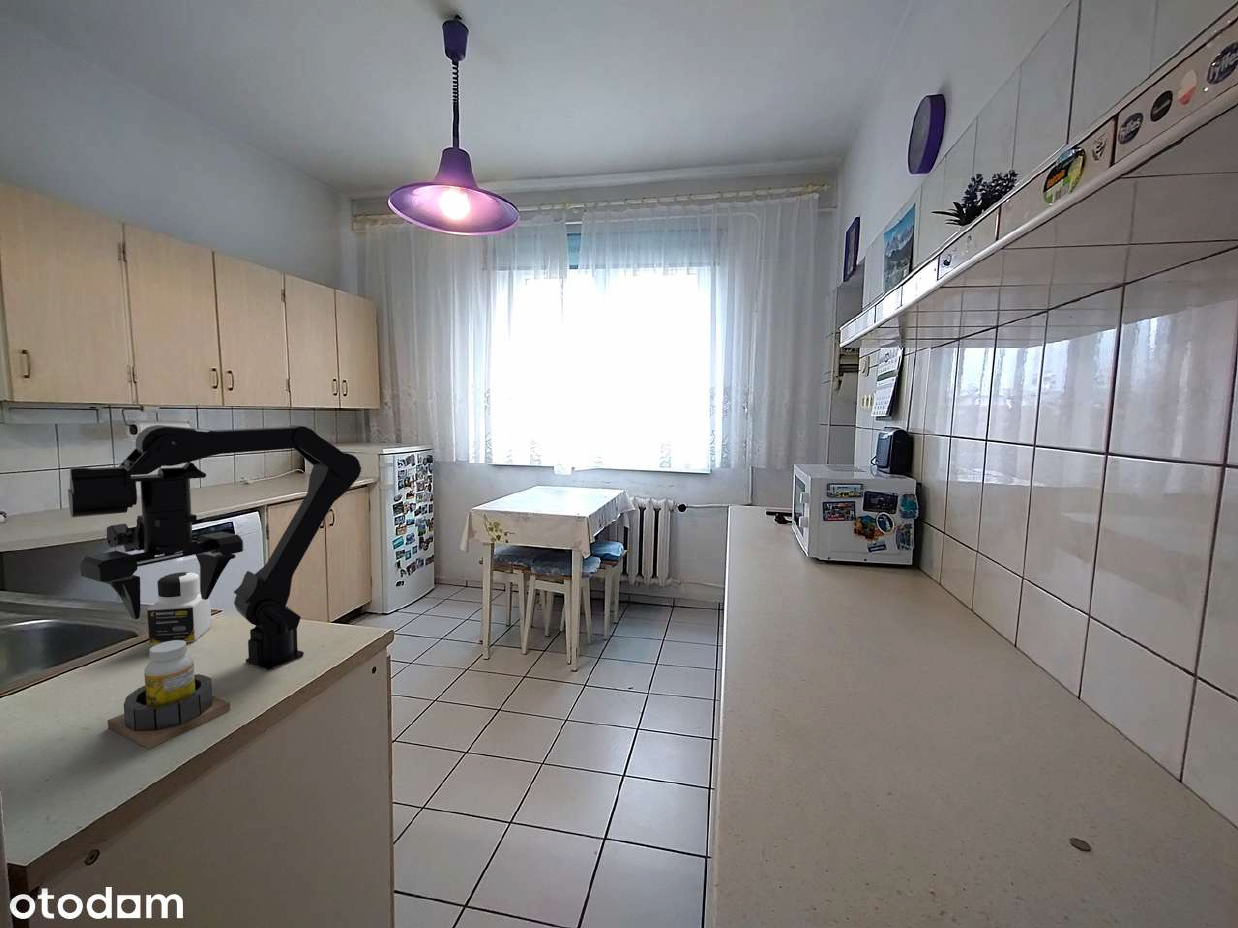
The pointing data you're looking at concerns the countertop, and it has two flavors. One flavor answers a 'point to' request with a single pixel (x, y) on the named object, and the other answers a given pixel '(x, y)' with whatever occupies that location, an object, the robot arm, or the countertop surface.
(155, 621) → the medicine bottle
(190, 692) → the supplement bottle
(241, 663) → the countertop surface
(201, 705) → the socket holder
